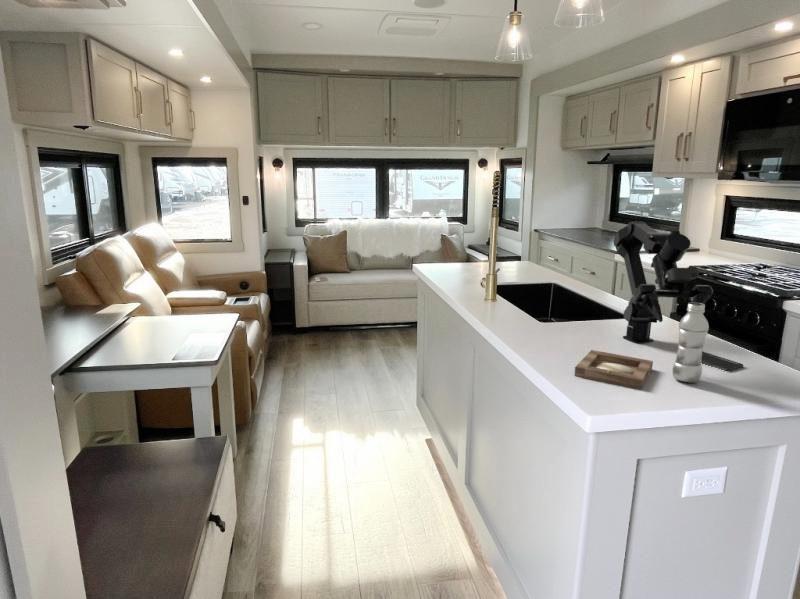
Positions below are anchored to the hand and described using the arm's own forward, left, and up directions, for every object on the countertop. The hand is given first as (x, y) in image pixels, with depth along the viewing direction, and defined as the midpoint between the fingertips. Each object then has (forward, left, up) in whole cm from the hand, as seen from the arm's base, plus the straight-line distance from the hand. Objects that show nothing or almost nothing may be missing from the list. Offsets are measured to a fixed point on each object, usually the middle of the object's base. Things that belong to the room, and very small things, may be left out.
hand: (679, 321), depth 141 cm
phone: (-15, -1, -14) cm, 20 cm away
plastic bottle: (+3, +7, -14) cm, 15 cm away
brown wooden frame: (+16, -4, -13) cm, 21 cm away
